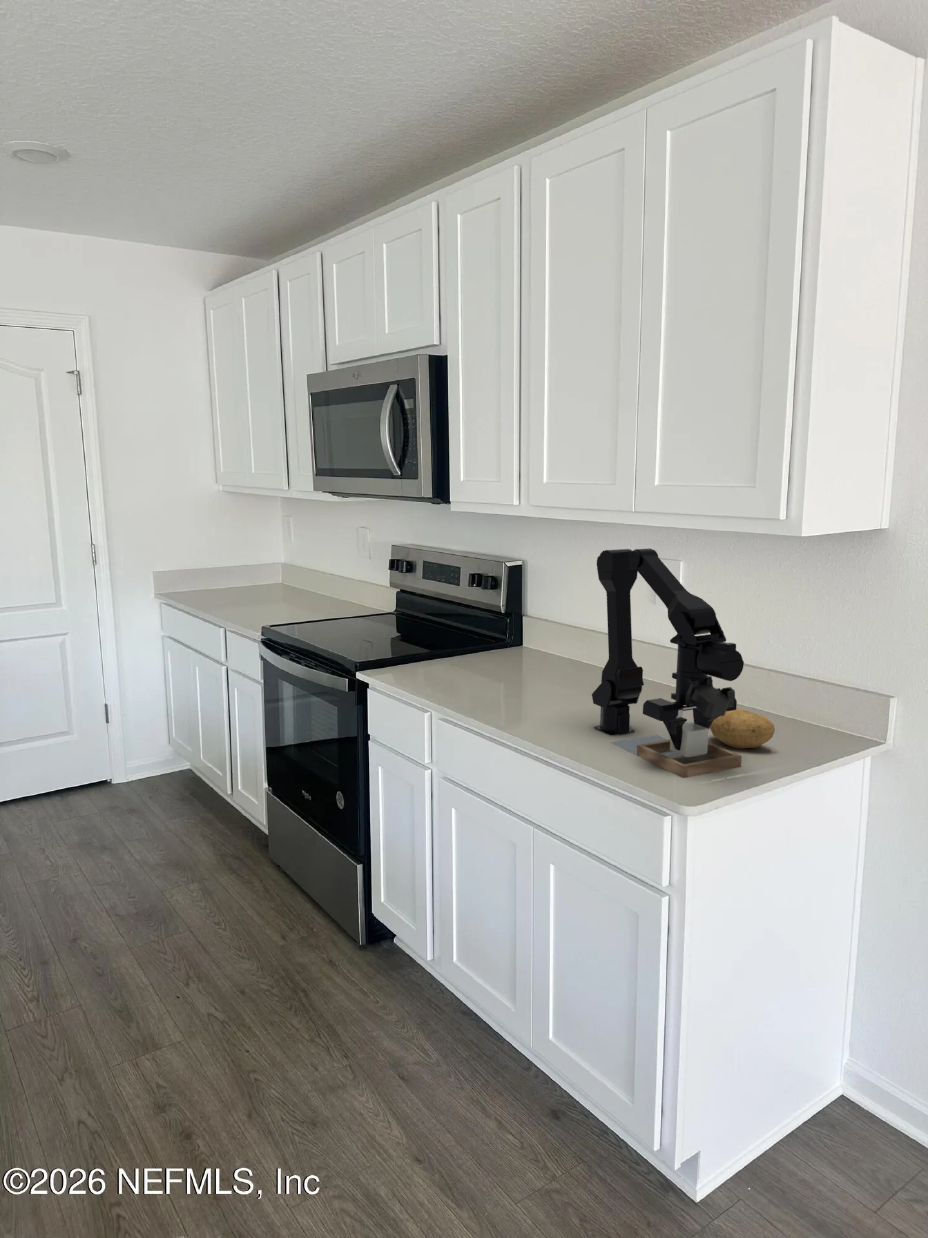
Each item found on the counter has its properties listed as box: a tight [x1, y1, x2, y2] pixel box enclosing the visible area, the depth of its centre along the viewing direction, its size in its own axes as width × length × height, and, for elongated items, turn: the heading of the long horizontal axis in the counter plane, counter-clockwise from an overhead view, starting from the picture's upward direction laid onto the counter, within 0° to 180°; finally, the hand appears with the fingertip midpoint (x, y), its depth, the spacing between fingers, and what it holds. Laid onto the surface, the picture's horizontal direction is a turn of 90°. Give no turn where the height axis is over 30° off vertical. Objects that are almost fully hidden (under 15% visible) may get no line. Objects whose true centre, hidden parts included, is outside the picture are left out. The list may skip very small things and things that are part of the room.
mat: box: [610, 734, 679, 760], centre depth 177 cm, size 12×12×1 cm
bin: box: [636, 739, 743, 779], centre depth 168 cm, size 14×14×2 cm
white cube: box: [669, 721, 709, 758], centre depth 168 cm, size 5×5×5 cm
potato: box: [709, 707, 776, 749], centre depth 177 cm, size 10×14×8 cm
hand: (688, 747), depth 168 cm, fingers closed on white cube, 5 cm apart
